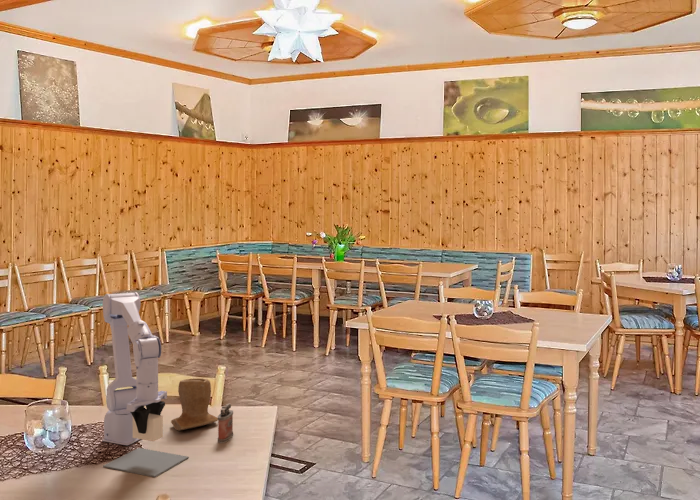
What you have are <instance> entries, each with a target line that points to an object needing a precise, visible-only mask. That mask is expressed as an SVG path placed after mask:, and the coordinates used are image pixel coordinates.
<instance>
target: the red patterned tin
mask: <svg viewBox="0 0 700 500" xmlns="http://www.w3.org/2000/svg"><path fill="white" fill-rule="evenodd" d="M231 408H232V404H231V403H227V404H225V405H222V406H221V409H220V413H219V414H218V415H217V418H218V421H217V422H218V423H217V425H218V426H217V431H218V432H217V433H218V434H217V442H218V443H227V442H228V441H230V440H231V439H232V438H233V437H234V431H233V422H234V419H233V418H234V417H233V415H234V410H231Z"/></svg>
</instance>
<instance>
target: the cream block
mask: <svg viewBox="0 0 700 500" xmlns="http://www.w3.org/2000/svg"><path fill="white" fill-rule="evenodd" d="M163 417H164V416H163V415H161V414H160V415H156V414H150V413H149V415H148V420H147V430H146V433H145V434H142V433H138V429H137V425H136V422H135V420H134V418H133V438H137V439H140V440H144V441H148V442H155V441H158V440H160V439H162V438H163V437H164V435H163V434H164V429H163V427H164V423H163V422H164V421H163V420H164V419H163Z"/></svg>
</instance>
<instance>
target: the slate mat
mask: <svg viewBox="0 0 700 500" xmlns="http://www.w3.org/2000/svg"><path fill="white" fill-rule="evenodd" d="M189 458H190V457H189V456H187V455H183V454H182V455H181V454H176V453H170V452H165V451H160V450H159V451H158V450H154V449H148V448H142V447H138V448H136V449H133V450H132V451H130V452H127V453H126V454H123V455H122V456H120V457H118V458H115V459H113V460H112V461H109V462H108V463H105V464H104V465H103V468H106V469H110V470H116V471H121V472H127V473H131V474H137V475H141V476H148V477H152V478H156V477H158V476H160V475H162V474H164V473H165V472H167V471H168V470H169V471H170V470H171V469H172V468H174V467H176V466H177V465H179V464H181V463H182V462H185V461H186V460H188V459H189Z"/></svg>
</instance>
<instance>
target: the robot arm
mask: <svg viewBox="0 0 700 500" xmlns="http://www.w3.org/2000/svg"><path fill="white" fill-rule="evenodd" d="M141 303H142V302H141V297H140V294H139V293H138V292H137V291H134V292H125V293H124V292H123V293H105V294H104V296H103V298H102V315H103V319H104V320H103V321H104V322H105V323H107V324H109V327H110V331H111V342H112V353H113V355H112V356H113V362H114V364H113V365H114V375H115V379H113V380H112V381H111V382H110V383H109V384H108V386H107V387H106V400H105V401H106V407H107V410H108V411H106V413H105V415H104V417H103V418H104V419H103V438H102V440H101V441H102V442H106V443H112V444H117V445H123V446H131V445H132V444H134V443H136V442H138V441H140V440H141V439H137V438H133V418H134V420H135V422H136V425H137V429H138V433H142V434H145V433H146V430H147V420H148V415H149V413H150V414H156V415H161V414H162V412H163V409H164V408H165V407H166V402H165V401H162V400H166V399H168V391H165V390H159V358H161V356H162V343H161V340H160V337H158V336H156V335H153V332H152V331H151V329H150V327H149V325H148V324H147V322H146V321H144V320H142V319H141V316H140V313H139V312H140V309H141ZM130 341H131V343H132V353H133V359H134V365H135V368H136V369H135V371H136V373H135V375H136V378H135V377H133V372H132V363H131V362H132V361H131V360H132V359H131V352H130V351H131V350H130V349H131V348H130ZM120 388H121V389H120Z"/></svg>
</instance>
